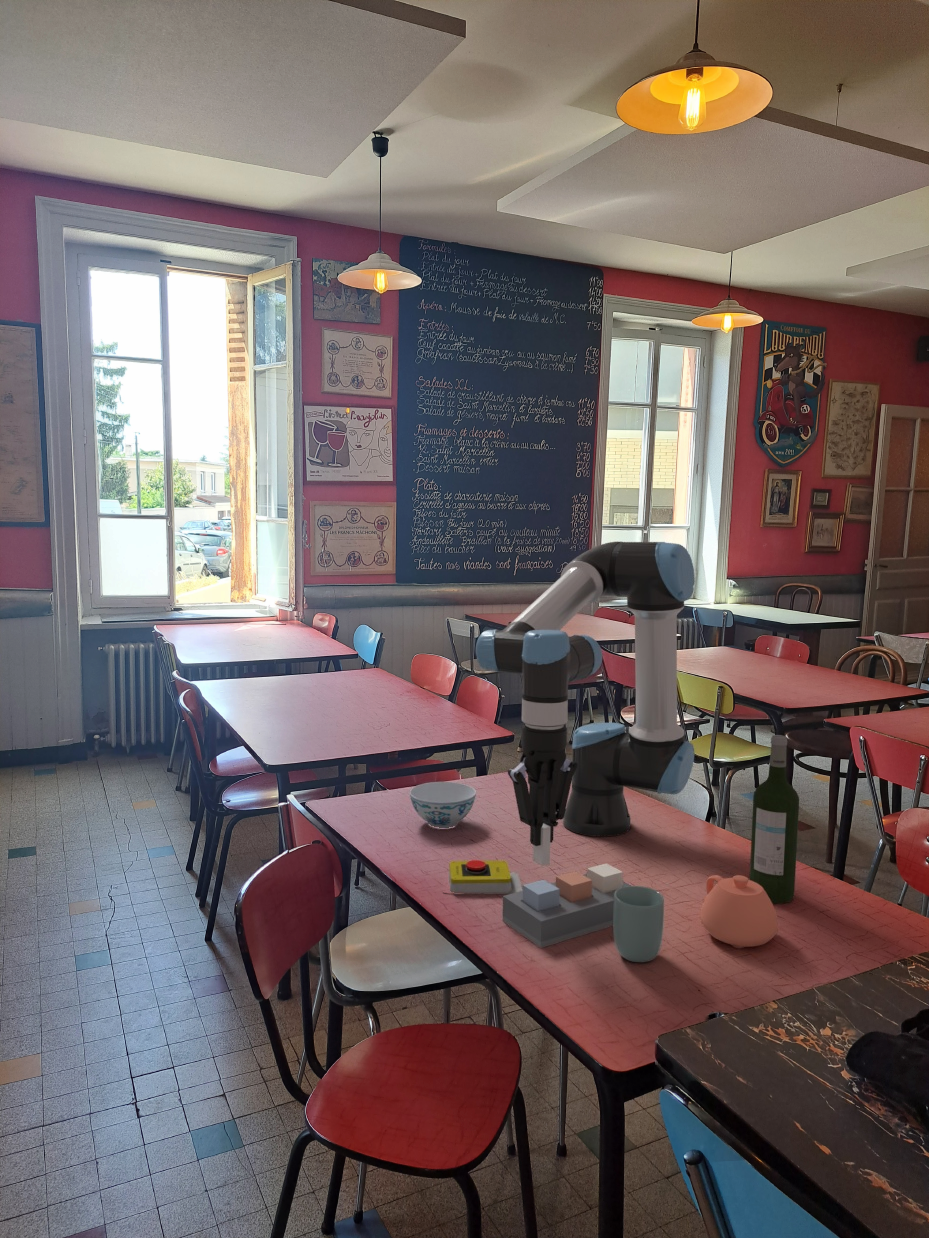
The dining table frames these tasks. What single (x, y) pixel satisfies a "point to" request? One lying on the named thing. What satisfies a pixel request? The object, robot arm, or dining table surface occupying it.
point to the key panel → (559, 917)
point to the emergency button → (483, 877)
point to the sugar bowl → (738, 912)
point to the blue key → (541, 895)
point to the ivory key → (605, 878)
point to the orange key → (574, 886)
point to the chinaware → (442, 802)
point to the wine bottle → (775, 829)
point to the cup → (638, 922)
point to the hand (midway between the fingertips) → (541, 862)
